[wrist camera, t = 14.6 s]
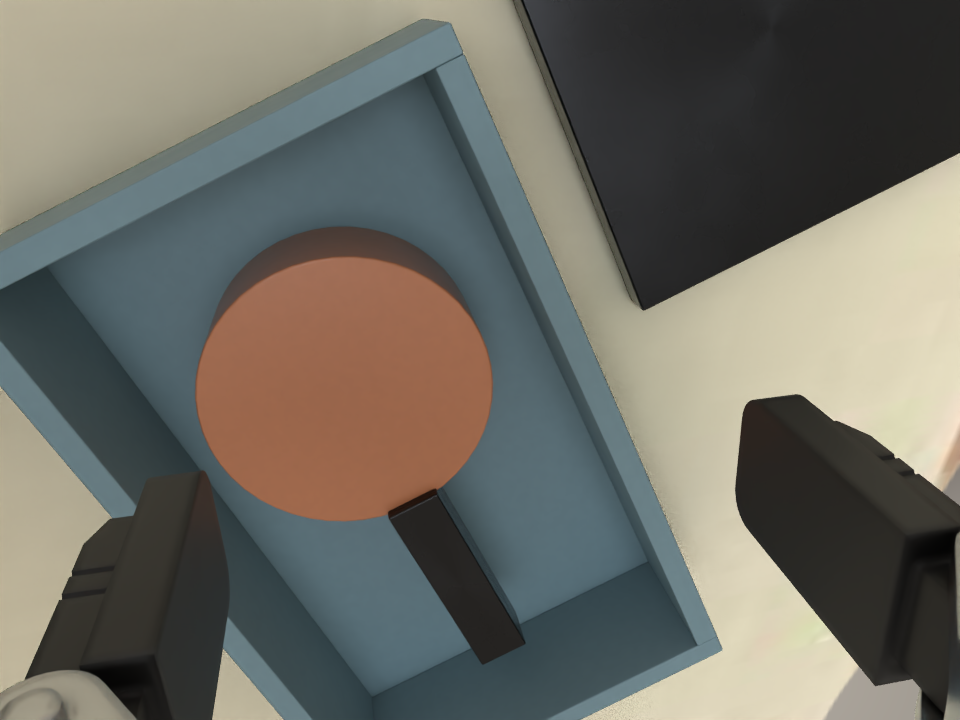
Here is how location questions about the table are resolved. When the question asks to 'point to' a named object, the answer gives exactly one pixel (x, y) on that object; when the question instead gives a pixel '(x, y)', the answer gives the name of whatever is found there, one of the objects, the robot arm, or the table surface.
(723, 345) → the table surface
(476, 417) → the pan
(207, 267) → the basin
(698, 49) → the plate
